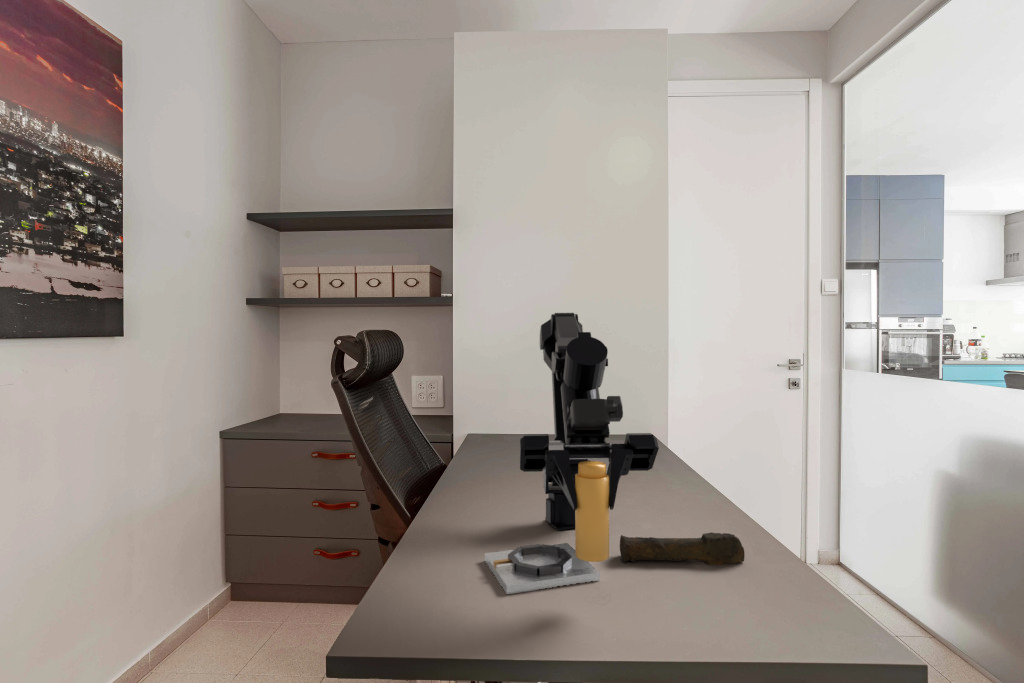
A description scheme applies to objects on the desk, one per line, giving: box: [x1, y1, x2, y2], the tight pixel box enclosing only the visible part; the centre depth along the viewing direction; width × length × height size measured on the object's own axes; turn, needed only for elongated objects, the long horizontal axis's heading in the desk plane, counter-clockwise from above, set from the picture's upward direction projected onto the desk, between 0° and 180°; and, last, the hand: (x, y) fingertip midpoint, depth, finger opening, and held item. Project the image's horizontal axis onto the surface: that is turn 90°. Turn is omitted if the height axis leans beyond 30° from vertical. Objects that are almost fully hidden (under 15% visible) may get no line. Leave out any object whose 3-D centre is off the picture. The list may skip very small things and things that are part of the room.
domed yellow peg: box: [574, 460, 610, 563], centre depth 75 cm, size 4×4×12 cm
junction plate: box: [484, 542, 601, 595], centre depth 85 cm, size 14×12×2 cm
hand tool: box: [619, 532, 745, 566], centre depth 88 cm, size 19×4×5 cm, turn 83°
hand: (593, 508), depth 73 cm, fingers closed on domed yellow peg, 4 cm apart
